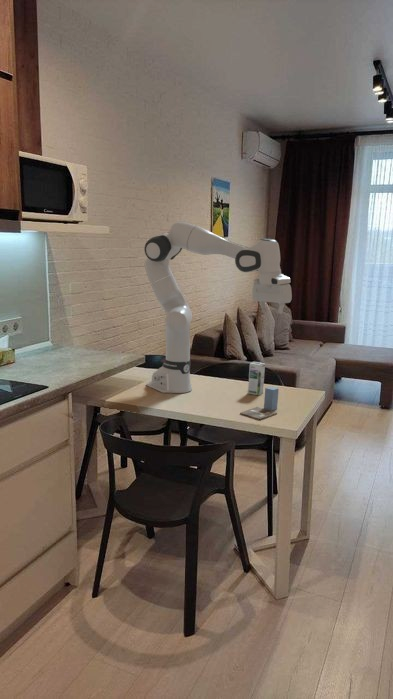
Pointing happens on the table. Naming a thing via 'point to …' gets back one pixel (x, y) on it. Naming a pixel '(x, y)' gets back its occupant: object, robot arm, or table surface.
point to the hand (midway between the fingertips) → (272, 312)
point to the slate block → (271, 398)
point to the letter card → (258, 413)
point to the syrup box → (256, 378)
